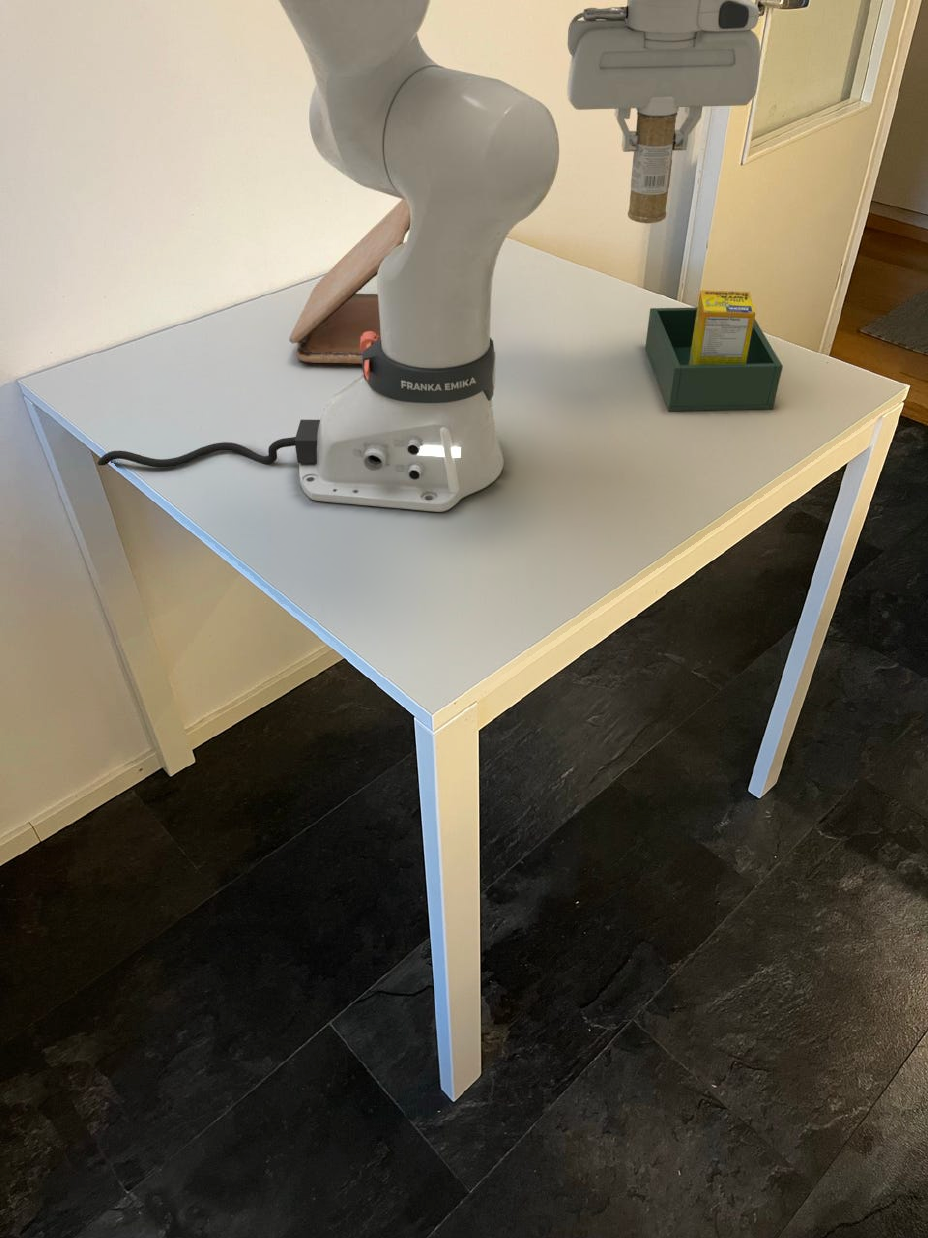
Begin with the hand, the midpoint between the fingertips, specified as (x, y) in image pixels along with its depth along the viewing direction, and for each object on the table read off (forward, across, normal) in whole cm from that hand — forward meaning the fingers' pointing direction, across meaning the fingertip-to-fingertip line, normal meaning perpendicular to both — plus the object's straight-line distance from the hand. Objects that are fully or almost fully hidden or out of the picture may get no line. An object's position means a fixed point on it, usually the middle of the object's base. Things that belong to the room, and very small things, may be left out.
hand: (654, 149), depth 108 cm
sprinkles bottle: (+8, 0, 0) cm, 8 cm away
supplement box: (+25, +8, -9) cm, 28 cm away
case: (+26, -33, +9) cm, 43 cm away
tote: (+26, +9, -6) cm, 27 cm away
